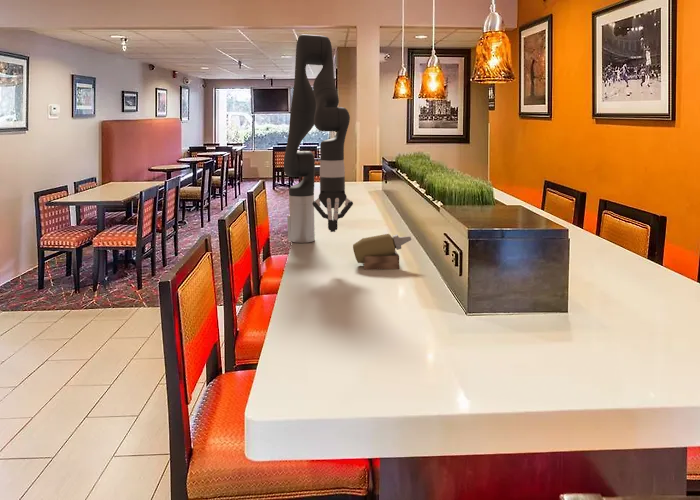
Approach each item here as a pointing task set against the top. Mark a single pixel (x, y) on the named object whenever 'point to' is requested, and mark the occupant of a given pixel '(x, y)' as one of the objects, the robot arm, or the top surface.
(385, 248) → the squeeze bottle
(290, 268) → the top surface
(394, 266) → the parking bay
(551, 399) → the top surface
